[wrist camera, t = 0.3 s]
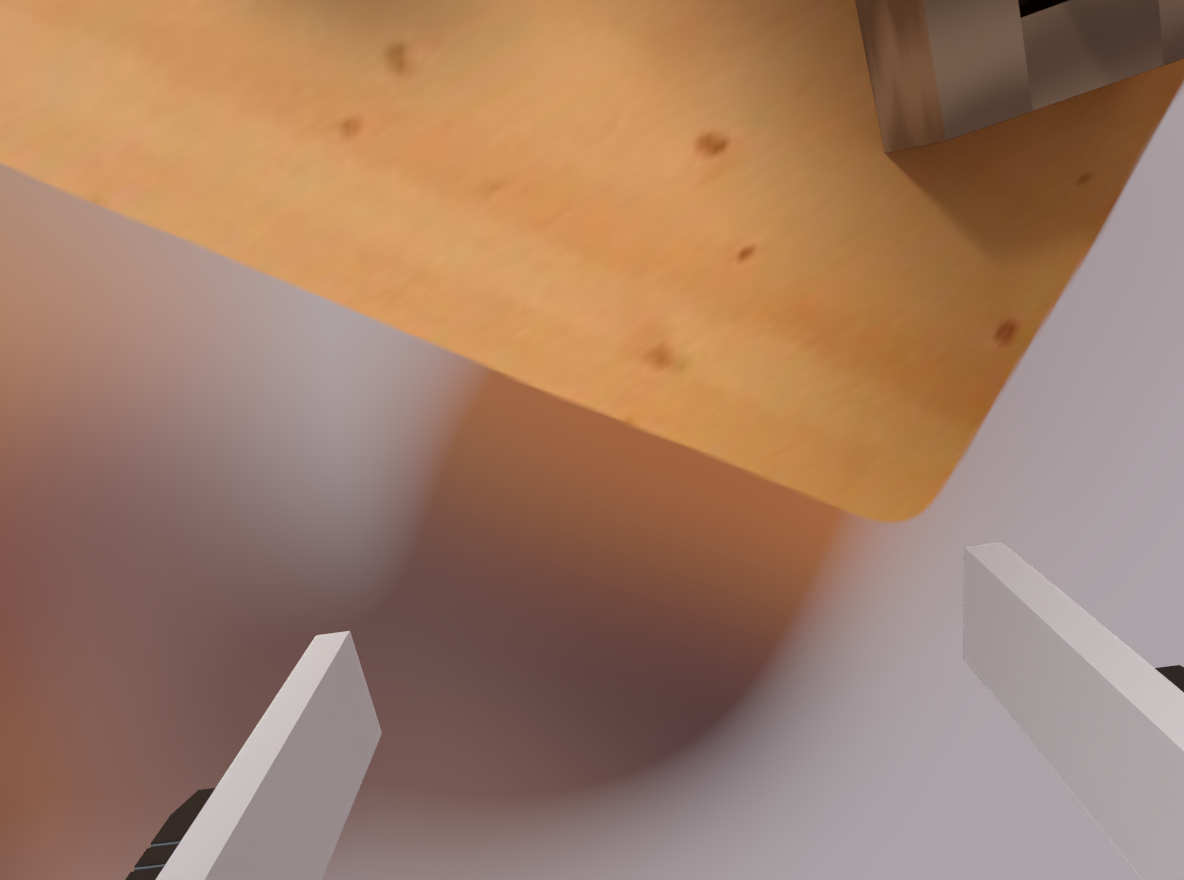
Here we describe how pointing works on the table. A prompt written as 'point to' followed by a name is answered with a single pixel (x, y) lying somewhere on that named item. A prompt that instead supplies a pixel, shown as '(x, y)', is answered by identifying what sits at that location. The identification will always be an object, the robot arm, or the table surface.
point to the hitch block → (1002, 58)
